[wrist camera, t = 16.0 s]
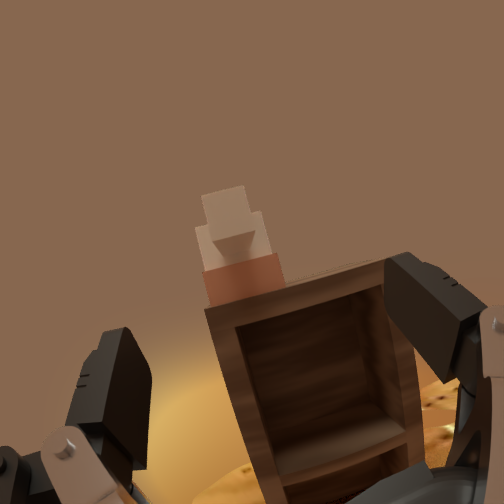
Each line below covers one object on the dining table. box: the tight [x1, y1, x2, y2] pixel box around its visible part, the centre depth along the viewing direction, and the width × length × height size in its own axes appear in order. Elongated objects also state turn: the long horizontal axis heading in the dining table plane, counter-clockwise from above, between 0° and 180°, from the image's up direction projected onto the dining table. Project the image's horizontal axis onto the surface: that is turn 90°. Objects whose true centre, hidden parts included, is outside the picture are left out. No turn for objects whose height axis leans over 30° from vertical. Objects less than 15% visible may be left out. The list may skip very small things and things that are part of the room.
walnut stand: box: [204, 257, 425, 504], centre depth 31 cm, size 12×17×32 cm
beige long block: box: [195, 185, 272, 271], centre depth 27 cm, size 20×6×4 cm, turn 2°
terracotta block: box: [202, 253, 286, 307], centre depth 31 cm, size 7×6×3 cm
